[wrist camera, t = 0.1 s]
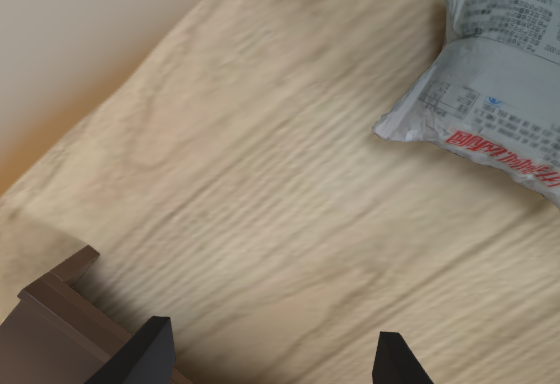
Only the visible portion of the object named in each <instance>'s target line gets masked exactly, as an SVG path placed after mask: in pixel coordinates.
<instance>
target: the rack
mask: <svg viewBox="0 0 560 384" xmlns="http://www.w3.org/2000/svg"><path fill="white" fill-rule="evenodd" d="M98 256H99V253H98V252H96V251H95V250H94V249H93V248H91V247H90V246H89V245H87V246H86V247H84V248H83V249H81V250H80V251H78V252H77V253H75V254H74V255H72V256H71V257H69V258H68V259H66V260H65V261H63V262H62V263H61V264H59V265H58V266H56V267H55V268H53V269H52V270H50V271H49V272H47V273H46V274H44V275H43V276H41V277H40V278H38V279H37V280H35V281H34V282H32V283H31V284H29V285H28V286H26V287H25V288H24V289H22V290H21V292H20V293H19V294H18V295H17V297H18V298H19V299H21V301H20V302H19V303H18V305H17V306H16V307H15V308H14V310H13V311H12V312H11V313H10V314H9V316H8V317H7V318H6V319H5V321H4V322H3V323H2V324H1V325H0V384H83V383H84V382H86V381H87V380H88V379H89V378H90V377H91V376H92V375H93V374H94V373H96V372H97V371H98V370H99V369H100V368H101V367H102V366H103V365H104V364H105V363H106V362H107V361H108V360H109V359H110V358H111V357H112V356H113V355H114V354H115V353H117V352H118V351H119V350H120V349H121V348H122V347H123V346H124V345H125V344H126V343H127V342H128V341H129V340H130V339H131V338H132V337H133V336H132V335H131V334H129V333H128V332H127V331H126V330H124V329H123V328H122V327H120V326H119V325H118V324H117V323H115V322H114V321H113V320H111V319H110V318H109V317H108V316H106V315H105V314H104V313H102V312H101V311H100V310H99V309H97V308H96V307H95V306H93V305H92V304H91V303H90V302H88V301H87V300H86V299H84V298H83V297H82V296H81V295H79V294H78V293H77V292H75V291H74V290H73V289H72V288H71V287H72V286H73V285H74V284H75V283H76V281H77V280H78V279H79V278H80V277H81V276H82V274H83V273H84V272H85V271H86V270H87V269H88V268H89V266H90V265H91V264H92V263H93V262H94V261H95V259H96V258H97V257H98ZM169 384H194V383H192V382H191V381H190V380H188V379H187V378H186V377H185V376H183V375H182V374H181V373H179V372H178V371H177V370H176V369H174V368H173V371H172V375H171V378H170V381H169Z"/></svg>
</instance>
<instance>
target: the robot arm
mask: <svg viewBox="0 0 560 384" xmlns="http://www.w3.org/2000/svg"><path fill="white" fill-rule="evenodd" d="M175 361H176V357H175V349H174V342H173V334H172V327H171V320H170V317H160V316H152V317H151V318H150V319H149V320H148V321H147V322H146V323H145V324H144V325H143V326H142V327H141V328H140V329H139V330H138V331H137V332H136V333H135V334H134V335H133V337H132V338H131V339H130V340H129V341H128V342H127V343H126V344H125V345H124V346H123V347H122V348H121V349H120V350H119V351H118V352H117V353H115V354H114V355H113V356H112V357H111V358H110V359H109V360H108V361H107V362H106V363H105V364H104V365H103V366H102V367H101V368H100V369H99V370H98V371H97V372H96V373H94V374H93V375H92V376H91V377H90V378H89V379H88V380H87V381H86V382H84V383H83V384H169V381H170V378H171V375H172V371H173V368H174V364H175ZM372 378H373V384H434V383H433V382H432V380H431V379H430V378H429V376H428V375H427V373H426V372H425V370H424V369H423V368H422V366H421V365H420V363H419V362H418V360H417V359H416V357H415V356H414V354H413V353H412V351H411V350H410V348H409V347H408V345H407V344H406V342H405V341H404V339H403V337H402V336H401V335H400V334H399V333H396V332H381V331H380V336H379V341H378V346H377V351H376V356H375V361H374V366H373V371H372Z"/></svg>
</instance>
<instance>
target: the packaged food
mask: <svg viewBox="0 0 560 384" xmlns="http://www.w3.org/2000/svg"><path fill="white" fill-rule="evenodd" d="M445 2H446V9H447V16H446V18H447V23H446V33H445V39H444V43H443V48H442V51H441V53H440V54H439V56H438V57H437V58H436V60H435V61H434V62H433V63H432V65H431V66H430V67H429V68H428V69H427V70H426V71H425V72H424V73H423V74H422V76H421V77H420V78H419V79H418V80H417V81H416V82H415V83H414V84H413V85H412V87H411V88H410V89H409V90H408V91H407V92H406V93H405V94H404V96H403V97H402V98H401V99H400V100H399V101H398V102H397V103H396V104H395V105H394V107H393V108H392V109H391V110H390V112H388V113H386V114H384V115H382V117H381V119H380V120H379V121H377V122H375V124H374V126H372V128H371V129H372V132H373V133H374V134H376V135H377V136H378V137H379V138H382V139H385V140H386V141H399V142H414V141H417V140H419V141H429V142H431V143H433V144H435V145H437V146H439V147H441V148H444V149H446V150H448V151H450V152H452V153H454V154H456V155H459V156H461V157H463V158H467V159H468V160H471V161H473V162H476V163H479V164H483V165H487V166H490V167H494V168H498V169H500V170H504V171H505V172H506V173H507V174H508V176H509V177H510V178H511V179H512V180H513V181H515V182H517V183H519V184H521V185H523V186H525V187H527V188H529V189H531V190H533V191H535V192H538V193H540V194H542V195H543V196H544V197H545V198H546V199H548V200H549V201H550V202H552V203H553V204H554V205H555V206H556V207H557V208H558V210H559V211H560V0H445Z"/></svg>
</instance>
